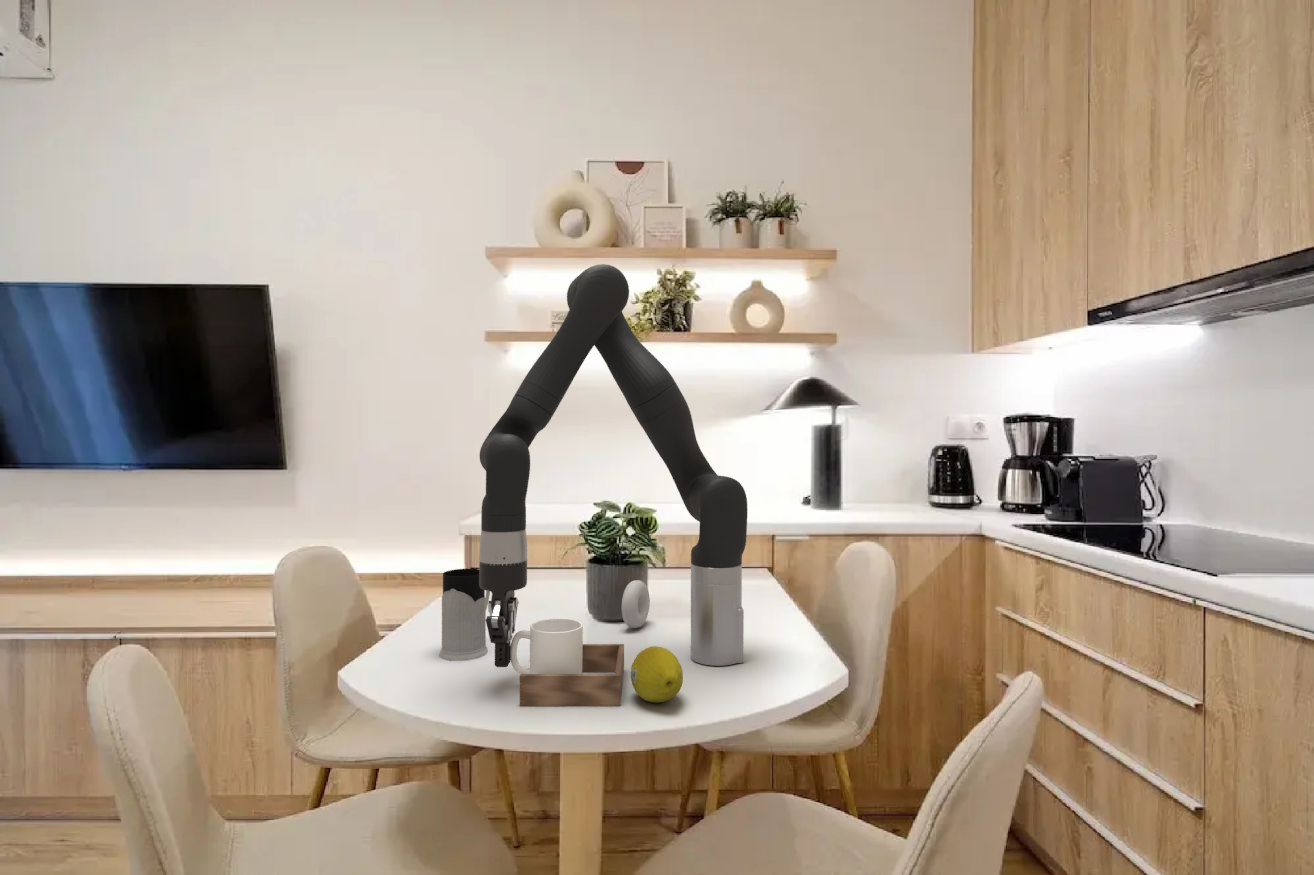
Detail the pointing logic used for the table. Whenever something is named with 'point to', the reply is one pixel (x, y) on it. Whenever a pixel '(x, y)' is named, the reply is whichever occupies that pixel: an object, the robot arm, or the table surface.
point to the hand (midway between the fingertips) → (502, 665)
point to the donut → (635, 604)
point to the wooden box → (579, 681)
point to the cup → (551, 647)
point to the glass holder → (463, 616)
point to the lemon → (656, 674)
